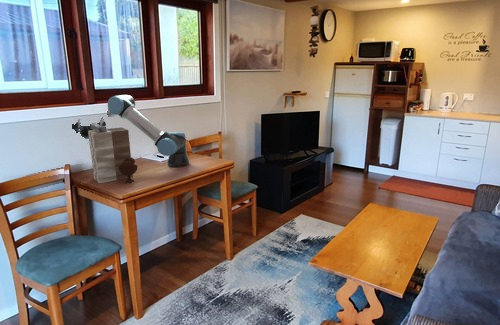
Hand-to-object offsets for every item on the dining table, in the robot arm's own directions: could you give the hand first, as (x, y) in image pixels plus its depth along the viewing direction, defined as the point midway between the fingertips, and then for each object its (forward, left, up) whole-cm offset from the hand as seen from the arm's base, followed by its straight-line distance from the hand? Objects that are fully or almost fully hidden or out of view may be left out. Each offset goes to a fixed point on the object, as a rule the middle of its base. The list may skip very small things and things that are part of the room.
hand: (91, 120), depth 213 cm
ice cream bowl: (-27, +15, -35) cm, 47 cm away
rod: (-7, +8, -5) cm, 11 cm away
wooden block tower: (-14, +8, -35) cm, 38 cm away
